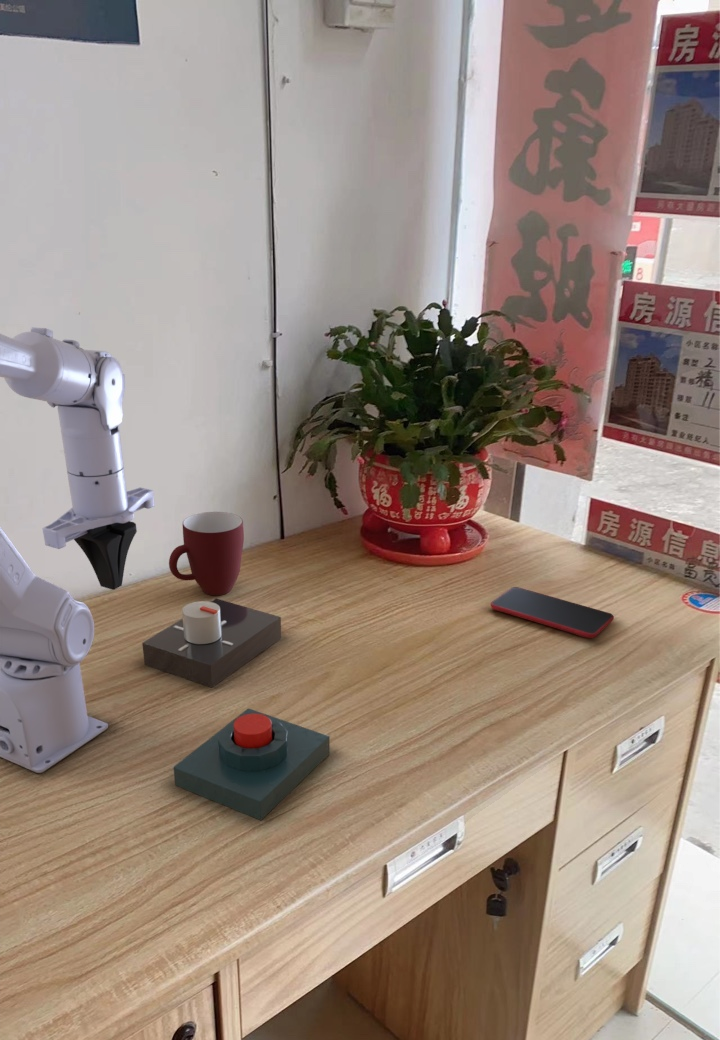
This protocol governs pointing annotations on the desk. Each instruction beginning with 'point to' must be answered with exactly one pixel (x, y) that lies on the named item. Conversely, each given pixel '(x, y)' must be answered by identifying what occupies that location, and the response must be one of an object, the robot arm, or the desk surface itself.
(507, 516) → the desk surface
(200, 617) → the knob
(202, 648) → the panel
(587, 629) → the smartphone
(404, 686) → the desk surface
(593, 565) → the desk surface
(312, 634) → the desk surface
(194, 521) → the mug
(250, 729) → the button
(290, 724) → the switch block
